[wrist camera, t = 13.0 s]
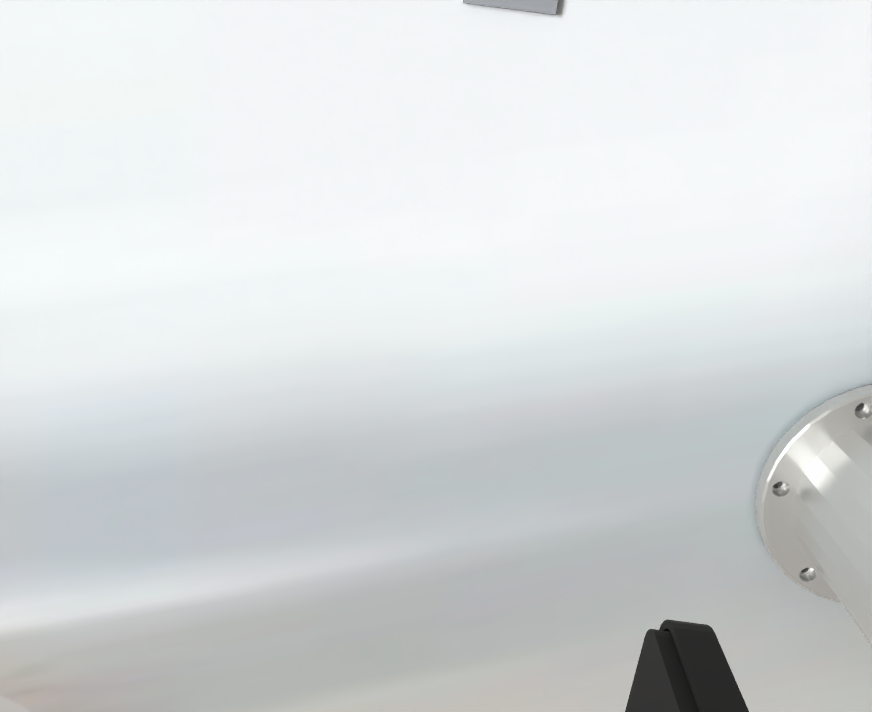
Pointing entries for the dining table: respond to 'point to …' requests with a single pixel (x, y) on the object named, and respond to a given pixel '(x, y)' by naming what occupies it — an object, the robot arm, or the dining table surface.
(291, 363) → the dining table surface
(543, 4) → the pair card
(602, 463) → the dining table surface
